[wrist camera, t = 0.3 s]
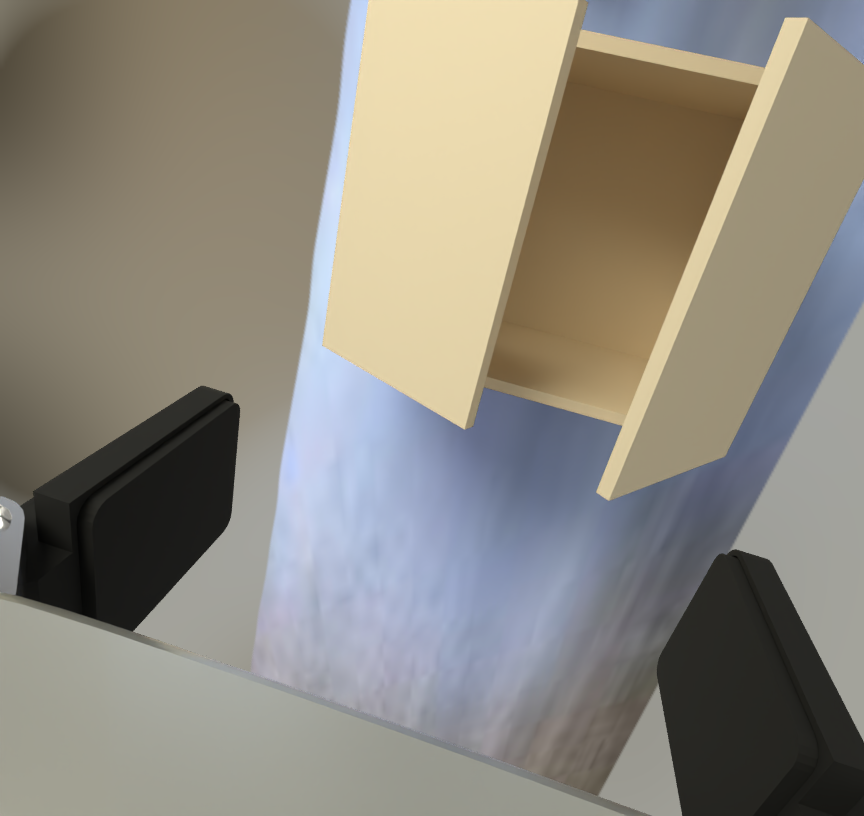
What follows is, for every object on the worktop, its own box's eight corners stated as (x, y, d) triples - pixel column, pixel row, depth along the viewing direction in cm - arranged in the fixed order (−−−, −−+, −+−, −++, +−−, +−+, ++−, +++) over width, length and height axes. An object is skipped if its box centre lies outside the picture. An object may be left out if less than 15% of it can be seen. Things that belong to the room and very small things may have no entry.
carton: (439, 43, 35) (384, -12, 24) (776, 115, 33) (882, 92, 22) (393, 298, 41) (333, 345, 31) (669, 371, 39) (710, 450, 29)
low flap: (381, -9, 24) (370, -14, 23) (588, 2, 18) (579, -4, 18) (331, 344, 30) (322, 345, 30) (473, 426, 25) (464, 429, 24)
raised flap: (785, 17, 15) (808, 17, 15) (885, 97, 22) (903, 98, 21) (595, 492, 22) (608, 501, 22) (713, 450, 28) (725, 456, 28)
